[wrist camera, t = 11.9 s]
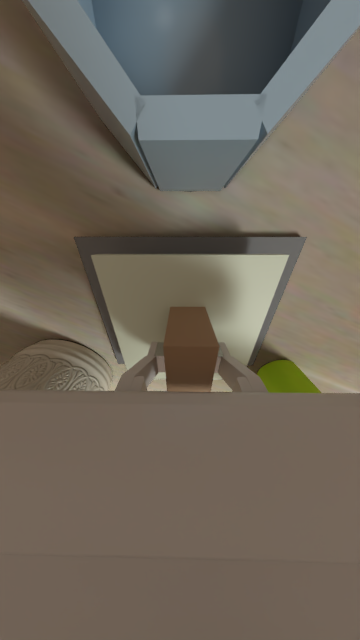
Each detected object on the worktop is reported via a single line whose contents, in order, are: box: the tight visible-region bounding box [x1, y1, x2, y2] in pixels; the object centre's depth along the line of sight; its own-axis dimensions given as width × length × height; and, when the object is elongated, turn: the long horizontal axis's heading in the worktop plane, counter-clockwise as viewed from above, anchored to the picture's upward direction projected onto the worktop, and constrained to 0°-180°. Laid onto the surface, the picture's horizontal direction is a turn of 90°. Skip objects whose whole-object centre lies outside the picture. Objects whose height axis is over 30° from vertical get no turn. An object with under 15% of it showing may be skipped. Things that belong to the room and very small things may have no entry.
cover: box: [91, 254, 289, 392], centre depth 11 cm, size 14×14×6 cm
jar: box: [0, 340, 112, 391], centre depth 14 cm, size 13×13×18 cm
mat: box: [74, 237, 307, 365], centre depth 16 cm, size 20×16×1 cm
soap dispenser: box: [257, 360, 321, 393], centre depth 12 cm, size 6×7×20 cm
